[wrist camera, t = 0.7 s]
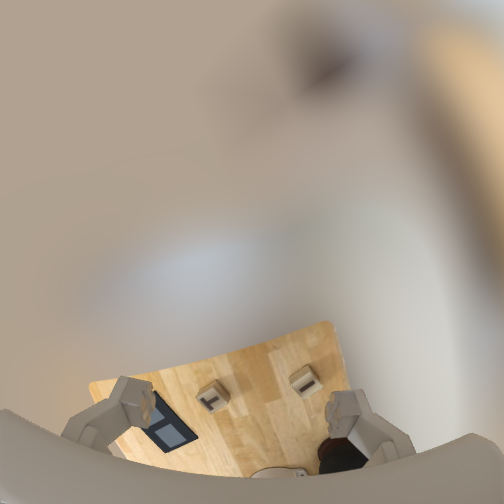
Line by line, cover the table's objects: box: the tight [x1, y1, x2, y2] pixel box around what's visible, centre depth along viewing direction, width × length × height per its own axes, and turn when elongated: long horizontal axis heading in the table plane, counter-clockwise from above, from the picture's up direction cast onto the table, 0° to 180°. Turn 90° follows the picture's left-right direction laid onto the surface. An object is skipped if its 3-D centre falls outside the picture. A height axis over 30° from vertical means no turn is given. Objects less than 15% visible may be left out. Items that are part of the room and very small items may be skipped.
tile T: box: [196, 380, 230, 414], centre depth 54 cm, size 5×5×4 cm
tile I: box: [289, 365, 323, 400], centre depth 53 cm, size 5×5×4 cm
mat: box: [141, 391, 198, 453], centre depth 55 cm, size 16×12×1 cm
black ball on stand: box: [318, 437, 369, 475], centre depth 46 cm, size 13×13×15 cm
